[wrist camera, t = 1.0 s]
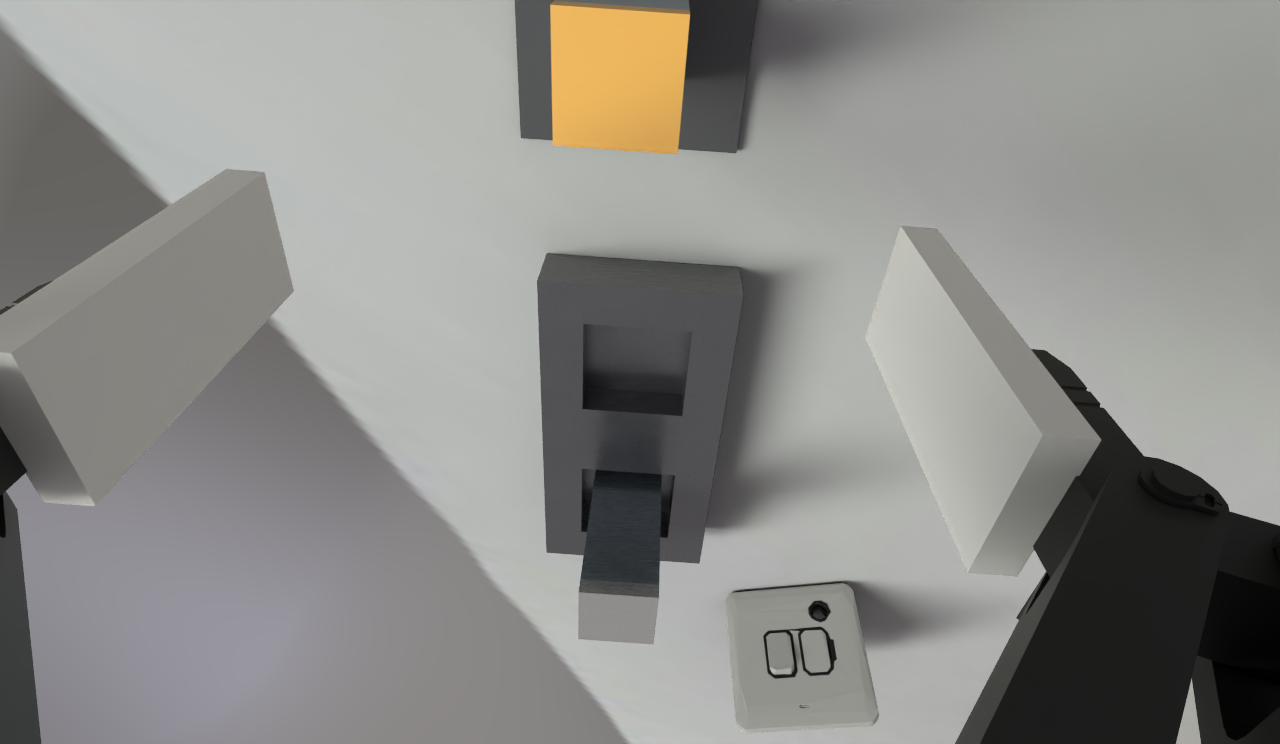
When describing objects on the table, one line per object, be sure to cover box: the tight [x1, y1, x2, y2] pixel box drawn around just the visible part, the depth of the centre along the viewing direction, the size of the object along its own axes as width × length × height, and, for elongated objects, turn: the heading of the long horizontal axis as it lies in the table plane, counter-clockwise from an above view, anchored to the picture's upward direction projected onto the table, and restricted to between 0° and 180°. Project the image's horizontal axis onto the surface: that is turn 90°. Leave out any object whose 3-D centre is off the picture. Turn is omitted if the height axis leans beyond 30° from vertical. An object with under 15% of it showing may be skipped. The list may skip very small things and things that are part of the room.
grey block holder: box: [537, 254, 744, 644], centre depth 37 cm, size 10×20×11 cm, turn 177°
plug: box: [550, 0, 690, 154], centre depth 25 cm, size 4×4×10 cm
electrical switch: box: [725, 583, 879, 733], centre depth 49 cm, size 9×5×9 cm, turn 101°
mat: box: [515, 0, 757, 153], centre depth 29 cm, size 10×10×1 cm
